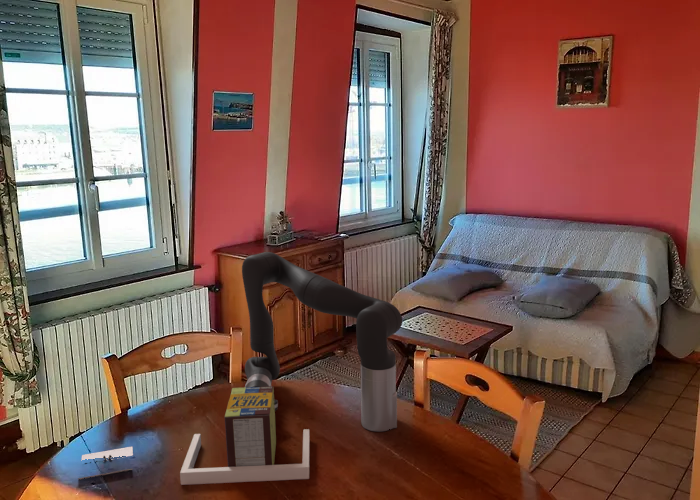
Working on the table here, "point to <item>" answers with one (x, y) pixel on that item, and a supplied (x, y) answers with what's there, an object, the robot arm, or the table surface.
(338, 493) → the table surface
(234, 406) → the protein box
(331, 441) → the table surface
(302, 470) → the u-shaped bracket
